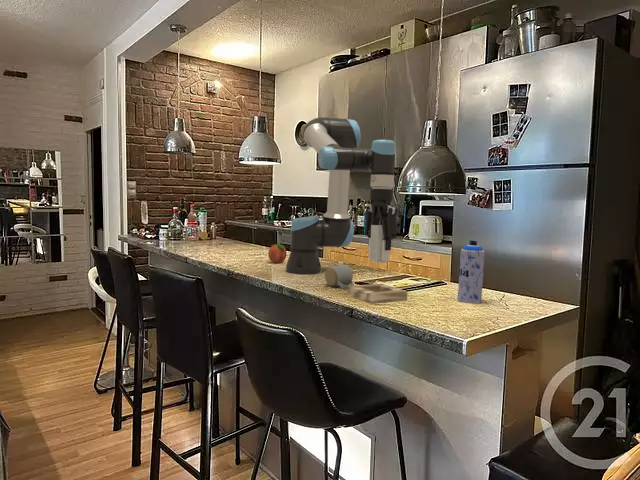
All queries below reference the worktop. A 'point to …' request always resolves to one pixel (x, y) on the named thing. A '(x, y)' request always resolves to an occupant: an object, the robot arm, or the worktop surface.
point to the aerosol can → (471, 273)
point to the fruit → (277, 253)
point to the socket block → (377, 293)
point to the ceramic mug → (339, 276)
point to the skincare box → (376, 244)
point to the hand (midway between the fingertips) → (378, 258)
